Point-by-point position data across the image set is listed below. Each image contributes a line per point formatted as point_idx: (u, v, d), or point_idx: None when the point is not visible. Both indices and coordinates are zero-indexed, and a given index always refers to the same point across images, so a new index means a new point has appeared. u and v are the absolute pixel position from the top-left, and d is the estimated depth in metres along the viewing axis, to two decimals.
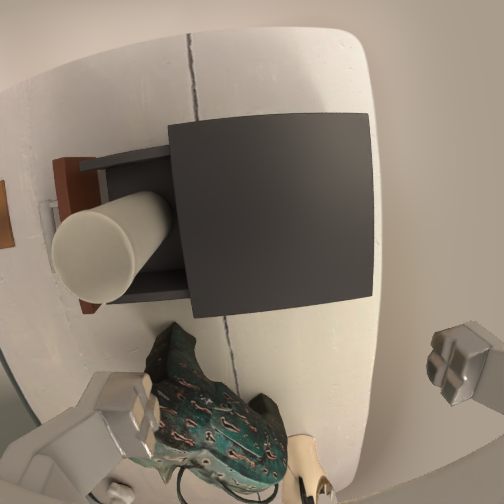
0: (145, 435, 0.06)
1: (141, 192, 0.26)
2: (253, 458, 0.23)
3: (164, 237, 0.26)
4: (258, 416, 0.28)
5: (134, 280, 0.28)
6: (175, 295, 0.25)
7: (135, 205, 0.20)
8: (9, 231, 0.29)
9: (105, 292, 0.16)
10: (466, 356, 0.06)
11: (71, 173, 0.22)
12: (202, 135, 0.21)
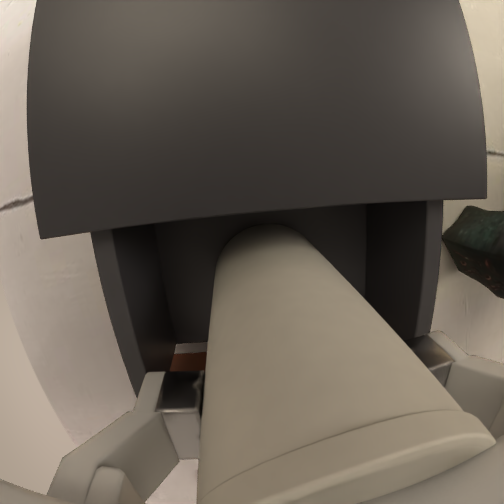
0: None
1: None
2: None
3: (308, 245, 0.12)
4: None
5: (381, 307, 0.14)
6: (435, 233, 0.10)
7: (218, 330, 0.08)
8: None
9: None
10: None
11: None
12: (55, 155, 0.07)
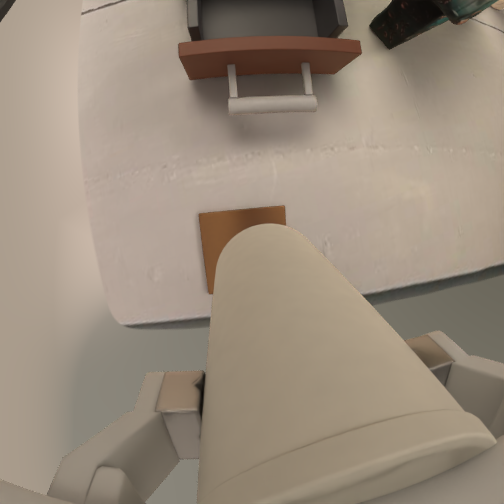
0: None
1: None
2: None
3: (308, 244, 0.12)
4: None
5: (323, 21, 0.21)
6: None
7: (218, 329, 0.08)
8: (265, 209, 0.29)
9: None
10: None
11: None
12: None
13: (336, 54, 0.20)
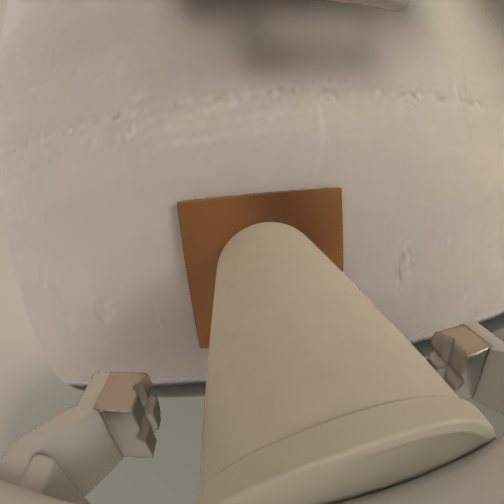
0: (145, 435, 0.06)
1: None
2: None
3: (308, 242, 0.12)
4: None
5: None
6: None
7: (220, 323, 0.08)
8: (305, 194, 0.15)
9: None
10: (466, 355, 0.06)
11: None
12: None
13: None
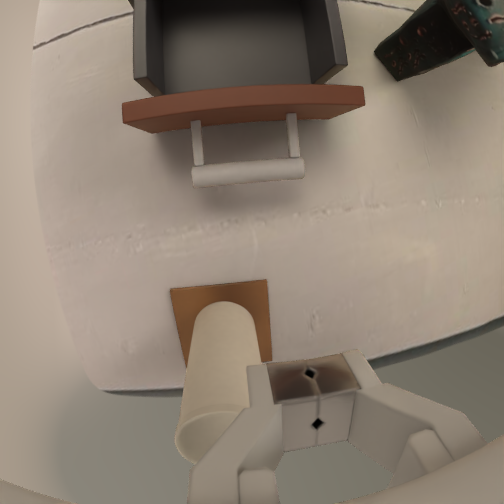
0: (314, 423, 0.06)
1: None
2: None
3: (239, 321, 0.23)
4: None
5: (316, 52, 0.18)
6: None
7: (189, 369, 0.19)
8: (244, 285, 0.26)
9: None
10: (318, 395, 0.06)
11: None
12: None
13: (331, 106, 0.16)
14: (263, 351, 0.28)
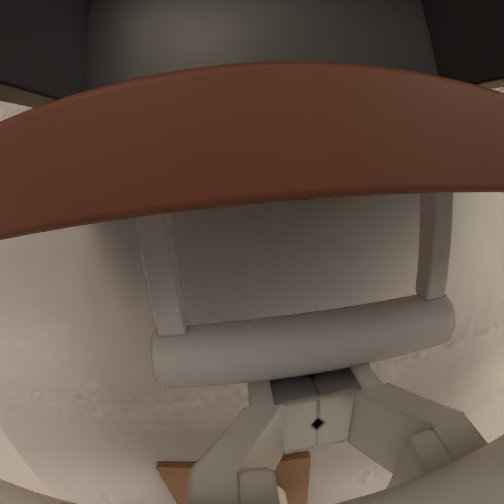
0: (314, 423, 0.06)
1: None
2: None
3: None
4: None
5: (469, 18, 0.05)
6: None
7: None
8: None
9: None
10: (318, 396, 0.06)
11: None
12: None
13: None
14: None
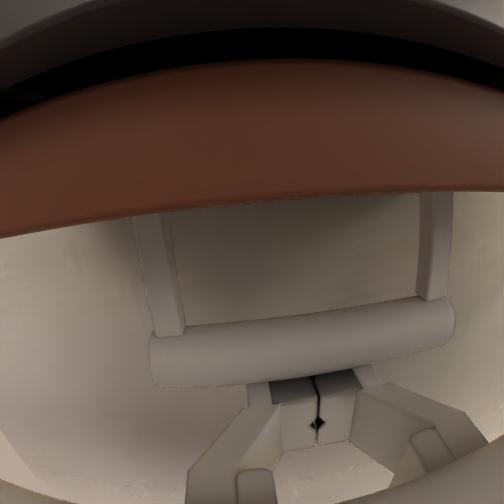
0: (313, 423, 0.06)
1: None
2: None
3: None
4: None
5: None
6: None
7: None
8: None
9: None
10: (319, 395, 0.06)
11: None
12: None
13: None
14: None
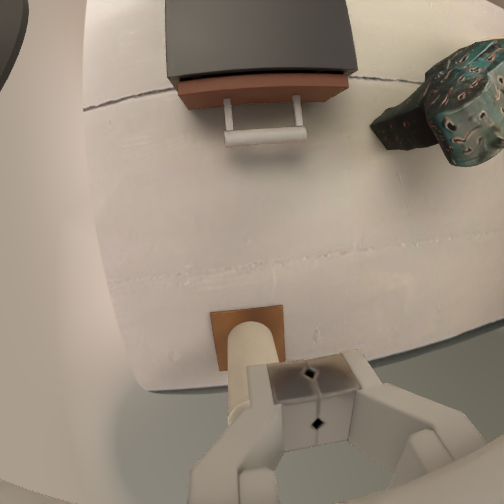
0: (314, 423, 0.06)
1: None
2: (495, 48, 0.16)
3: (263, 336, 0.32)
4: (457, 50, 0.21)
5: None
6: None
7: (231, 372, 0.27)
8: (266, 309, 0.34)
9: None
10: (318, 396, 0.06)
11: None
12: (179, 48, 0.19)
13: (324, 88, 0.22)
14: (278, 357, 0.36)
